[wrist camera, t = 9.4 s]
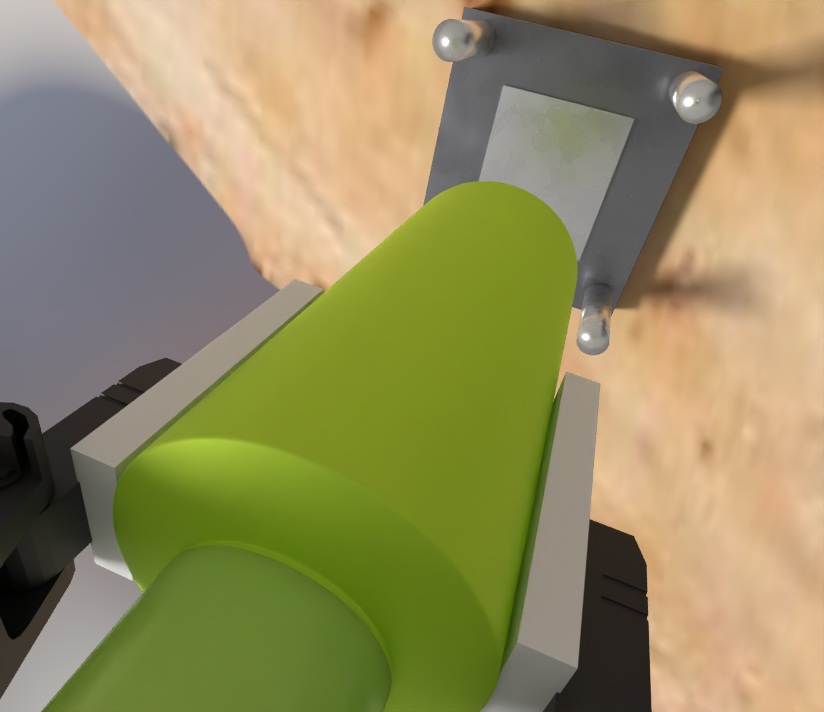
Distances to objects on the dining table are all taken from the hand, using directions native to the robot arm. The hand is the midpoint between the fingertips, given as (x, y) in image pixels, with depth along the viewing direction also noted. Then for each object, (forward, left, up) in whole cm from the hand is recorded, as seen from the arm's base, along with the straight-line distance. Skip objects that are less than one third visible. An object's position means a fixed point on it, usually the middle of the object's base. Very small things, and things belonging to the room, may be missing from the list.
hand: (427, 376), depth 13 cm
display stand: (0, 0, -23) cm, 23 cm away
